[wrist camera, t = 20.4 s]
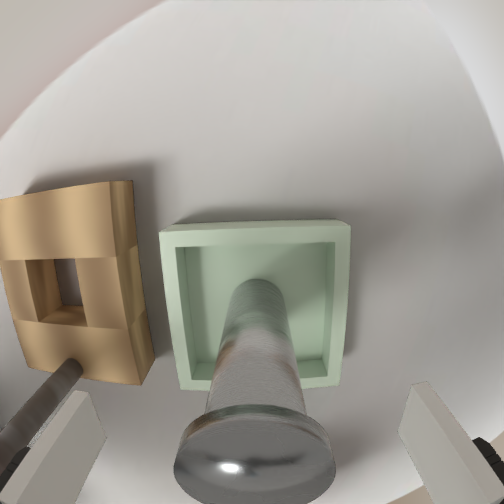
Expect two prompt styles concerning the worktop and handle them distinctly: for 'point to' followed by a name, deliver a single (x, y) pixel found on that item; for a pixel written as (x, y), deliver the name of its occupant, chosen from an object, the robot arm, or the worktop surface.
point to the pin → (255, 415)
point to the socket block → (91, 287)
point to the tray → (257, 267)
